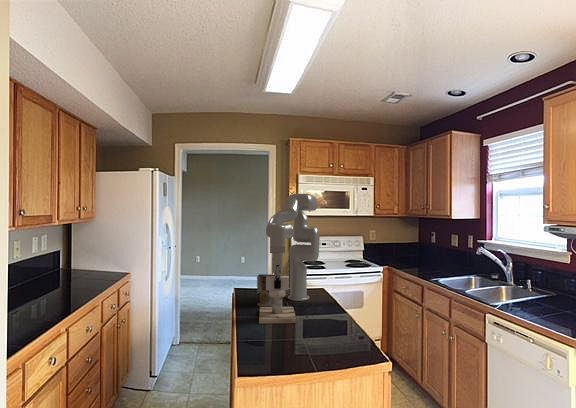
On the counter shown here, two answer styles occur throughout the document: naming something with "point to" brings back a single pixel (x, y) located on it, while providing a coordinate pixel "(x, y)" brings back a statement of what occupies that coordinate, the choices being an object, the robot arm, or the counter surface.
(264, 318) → the post base
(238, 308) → the counter surface
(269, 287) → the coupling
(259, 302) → the coffee box
